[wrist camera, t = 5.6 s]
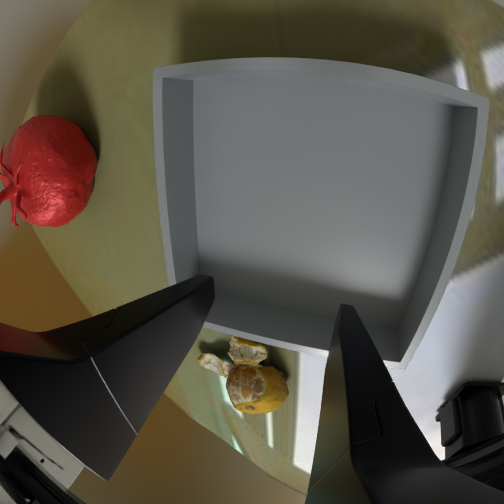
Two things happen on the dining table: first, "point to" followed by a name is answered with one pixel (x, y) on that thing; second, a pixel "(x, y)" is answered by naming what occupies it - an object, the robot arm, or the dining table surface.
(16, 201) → the pomegranate
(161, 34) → the dining table surface
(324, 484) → the robot arm
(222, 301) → the serving bin
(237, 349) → the fruit
